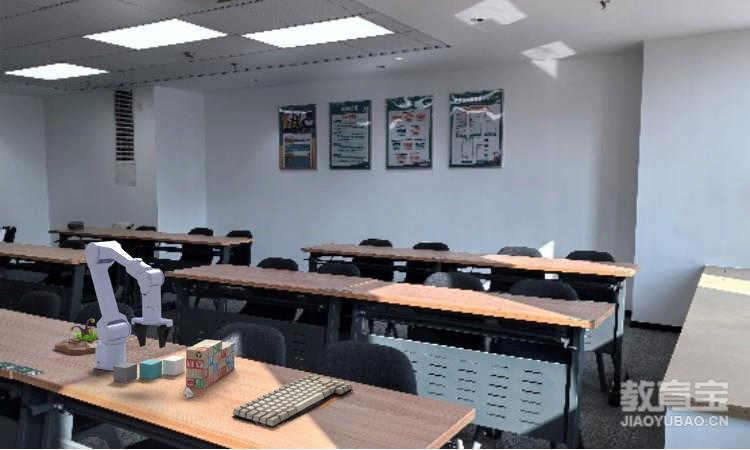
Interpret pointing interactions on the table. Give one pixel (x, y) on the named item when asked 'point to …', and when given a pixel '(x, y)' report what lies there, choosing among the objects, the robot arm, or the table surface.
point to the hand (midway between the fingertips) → (152, 346)
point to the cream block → (173, 365)
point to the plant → (80, 342)
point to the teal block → (150, 369)
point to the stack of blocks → (208, 362)
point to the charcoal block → (125, 372)
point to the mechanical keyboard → (292, 401)
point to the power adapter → (188, 393)
